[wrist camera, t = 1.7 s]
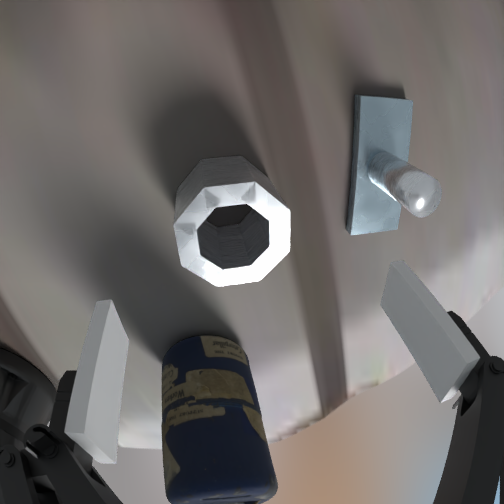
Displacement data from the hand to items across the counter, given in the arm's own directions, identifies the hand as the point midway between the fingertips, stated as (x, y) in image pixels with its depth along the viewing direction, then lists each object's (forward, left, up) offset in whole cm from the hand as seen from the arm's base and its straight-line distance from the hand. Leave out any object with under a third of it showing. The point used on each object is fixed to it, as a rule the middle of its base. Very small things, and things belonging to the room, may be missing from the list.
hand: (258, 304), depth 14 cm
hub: (0, 0, -12) cm, 12 cm away
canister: (-4, -18, -13) cm, 22 cm away
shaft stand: (+13, +2, -12) cm, 18 cm away
